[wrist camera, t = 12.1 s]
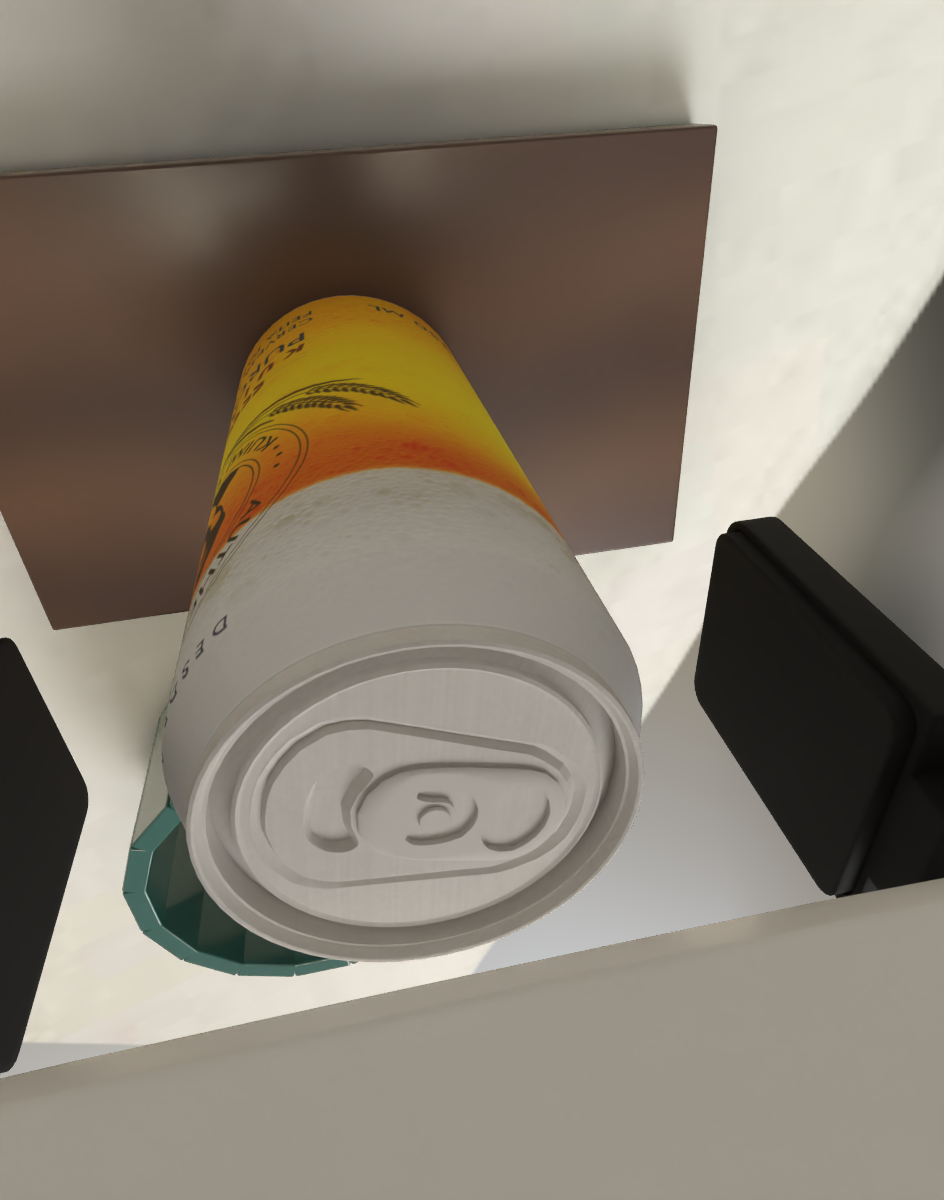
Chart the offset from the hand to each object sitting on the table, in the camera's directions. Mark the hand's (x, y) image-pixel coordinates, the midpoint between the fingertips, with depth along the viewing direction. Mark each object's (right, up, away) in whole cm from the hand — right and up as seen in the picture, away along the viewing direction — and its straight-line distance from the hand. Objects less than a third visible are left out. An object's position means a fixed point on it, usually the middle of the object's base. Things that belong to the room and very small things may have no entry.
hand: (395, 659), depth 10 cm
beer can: (-2, +6, +11) cm, 13 cm away
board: (-2, +7, +12) cm, 14 cm away
